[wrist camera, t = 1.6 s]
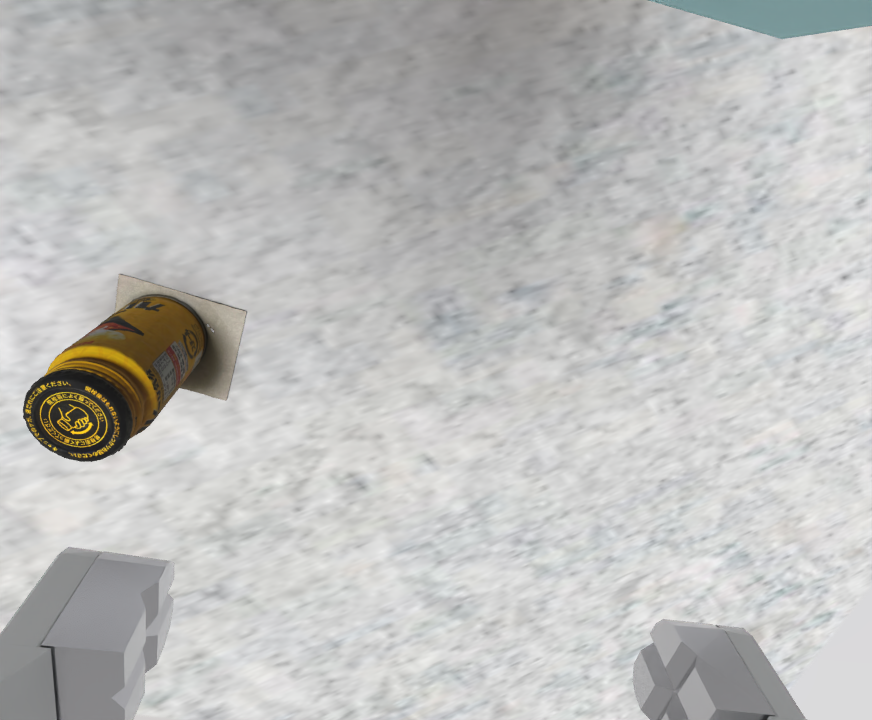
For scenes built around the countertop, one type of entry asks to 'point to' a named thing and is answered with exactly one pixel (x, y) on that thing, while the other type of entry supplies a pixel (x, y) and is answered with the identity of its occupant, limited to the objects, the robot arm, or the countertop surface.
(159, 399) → the condiment
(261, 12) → the countertop surface
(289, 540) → the countertop surface
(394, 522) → the countertop surface
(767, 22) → the rod
